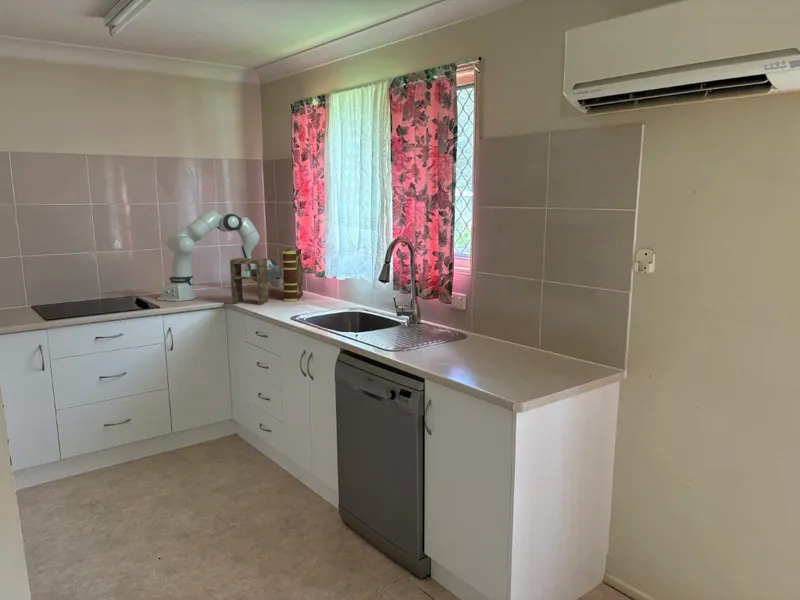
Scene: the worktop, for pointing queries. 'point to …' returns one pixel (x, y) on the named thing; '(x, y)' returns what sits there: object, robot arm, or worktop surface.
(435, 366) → the worktop surface
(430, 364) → the worktop surface
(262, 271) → the walnut shelf
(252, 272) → the pale green bar
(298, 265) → the decorative book
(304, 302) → the worktop surface
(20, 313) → the worktop surface
